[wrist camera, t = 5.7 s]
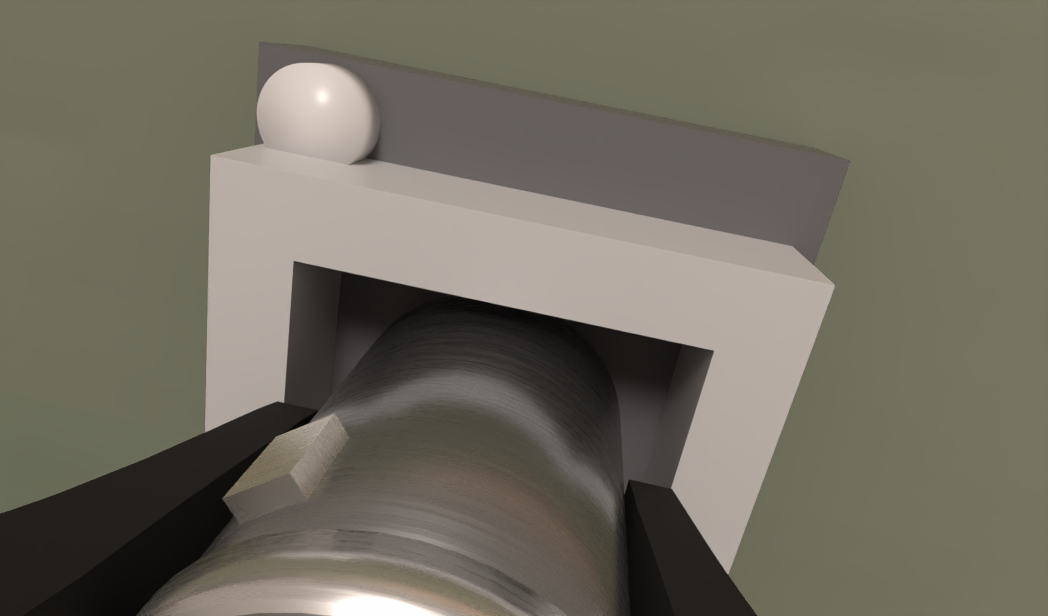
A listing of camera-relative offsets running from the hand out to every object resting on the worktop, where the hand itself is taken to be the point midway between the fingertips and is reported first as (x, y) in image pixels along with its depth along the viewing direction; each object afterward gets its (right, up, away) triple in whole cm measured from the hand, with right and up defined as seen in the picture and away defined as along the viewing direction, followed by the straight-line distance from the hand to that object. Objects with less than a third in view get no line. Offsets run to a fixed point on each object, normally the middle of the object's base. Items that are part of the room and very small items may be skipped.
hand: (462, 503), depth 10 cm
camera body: (0, +1, +4) cm, 4 cm away
